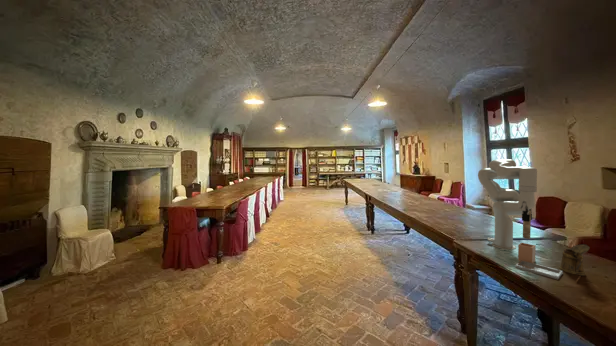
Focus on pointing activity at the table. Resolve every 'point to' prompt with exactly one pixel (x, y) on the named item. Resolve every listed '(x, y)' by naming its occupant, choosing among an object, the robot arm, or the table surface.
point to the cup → (526, 252)
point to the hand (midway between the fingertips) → (526, 220)
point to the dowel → (527, 228)
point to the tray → (539, 269)
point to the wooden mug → (574, 259)
